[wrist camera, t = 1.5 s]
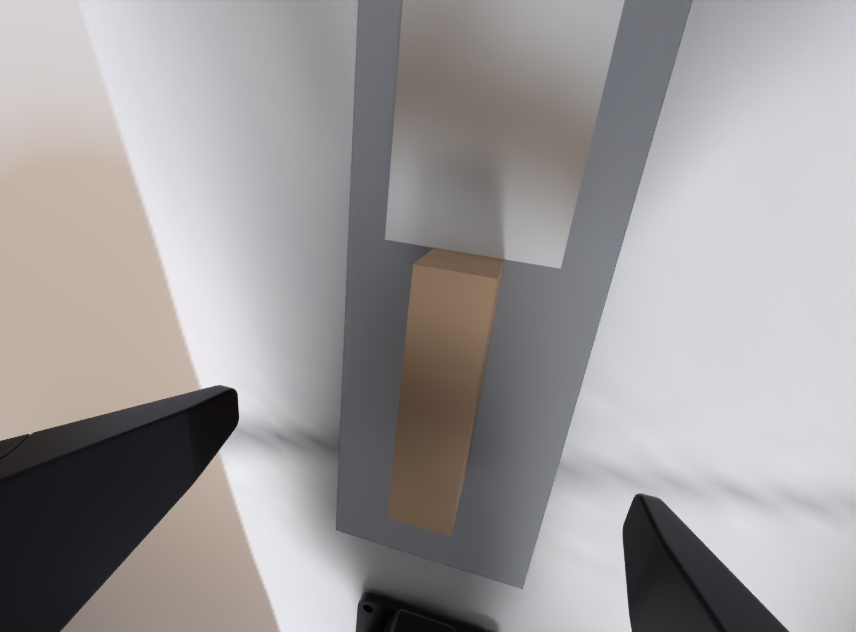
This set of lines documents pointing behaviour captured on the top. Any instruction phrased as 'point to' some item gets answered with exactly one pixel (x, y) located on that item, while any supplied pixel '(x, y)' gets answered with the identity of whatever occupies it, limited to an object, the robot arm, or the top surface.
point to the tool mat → (515, 315)
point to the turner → (479, 201)
